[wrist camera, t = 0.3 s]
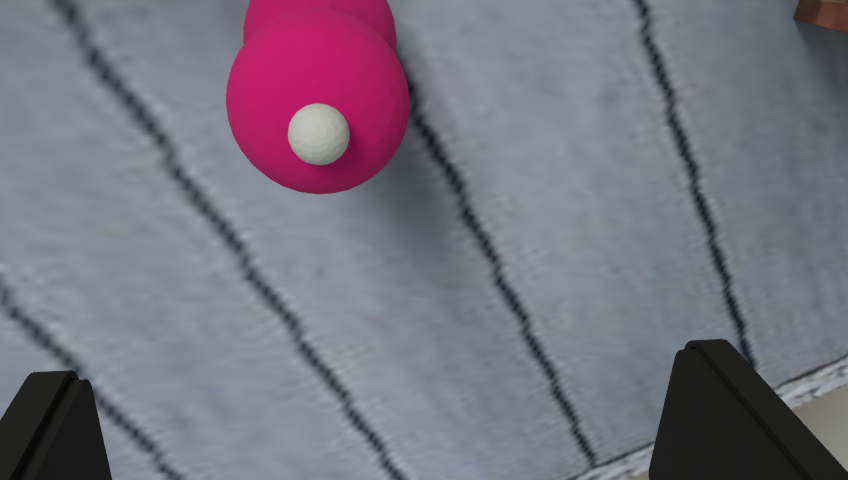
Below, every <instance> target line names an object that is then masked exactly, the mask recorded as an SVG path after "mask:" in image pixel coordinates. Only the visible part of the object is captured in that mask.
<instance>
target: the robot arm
mask: <svg viewBox="0 0 848 480" xmlns="http://www.w3.org/2000/svg"><path fill="white" fill-rule="evenodd" d="M0 480H112V477H111V472H110V468H109V463H108V459H107V454H106V449H105V445H104V440H103V436H102V431H101V427H100V422H99V418H98V413H97V408H96V404H95V399H94V395H93V390H92V386H91V383H90V382H89V380H87V379H85V380H79V378H78V375H77V374H76V372H74V371H72V370H70V371H49V372H33V373H31V374H30V375H29V376H28V377H27V378H26V380H25V381H24V383H23V385H22V386H21V388H20V389H19V391H18V393H17V394H16V396H15V398H14V399H13V401H12V402H11V404H10V406H9V407H8V409H7V410H6V412H5V414H4V415H3V417H2V419H1V420H0ZM649 480H848V472H847V471H846V470H845V469H844V468H843V466H841V464H840V463H839V462H838V461H837V460H836V459H835V458H834V457H833V456H832V454H831V453H830V452H829V451H828V450H827V449H826V448H825V447H824V446H823V445H822V443H821V442H820V441H819V440H818V439H817V438H816V437H815V436H814V435H813V434H812V433H811V431H810V430H809V429H808V428H807V427H806V426H805V425H804V424H803V423H802V422H801V420H800V419H799V418H798V417H797V416H796V415H795V414H794V413H793V412H792V410H791V409H790V408H789V407H788V406H787V405H786V404H785V403H784V402H783V401H782V399H781V398H780V397H779V396H778V395H777V394H776V393H775V392H774V391H773V390H772V389H771V387H770V386H769V385H768V384H767V383H766V382H765V381H764V380H763V379H762V378H761V376H760V375H759V374H758V373H757V372H756V371H755V370H754V369H753V368H752V367H751V365H750V364H749V363H748V362H747V361H746V360H745V359H744V358H743V357H742V356H741V354H740V353H739V352H738V351H737V350H736V349H735V348H734V347H733V346H732V345H731V344H730V343H729V342H728V341H727V340H724V339H713V340H692V341H690V342H688V343H687V344H686V346H685V348H684V350H679V351H678V352H677V353H676V356H675V360H674V364H673V368H672V372H671V377H670V381H669V385H668V390H667V394H666V398H665V403H664V407H663V411H662V416H661V420H660V424H659V428H658V433H657V437H656V441H655V446H654V450H653V454H652V459H651V463H650V467H649Z"/></svg>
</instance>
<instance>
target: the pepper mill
mask: <svg viewBox="0 0 848 480" xmlns="http://www.w3.org/2000/svg"><path fill="white" fill-rule="evenodd" d="M395 51H396V32H395V25H394V19H393V16H392V13H391V10H390V7H389V5H388V3H387V1H386V0H251V1H250V4H249V7H248V9H247V12H246V18H245V23H244V46H243V47H242V48H241V49H240V51H239V52H238V54H237V56H236V59H235V61H234V63H233V65H232V68H231V72H230V76H229V80H228V84H227V93H226V106H227V114H228V121H229V124H230V127H231V130H232V133H233V136H234V138H235V140H236V142H237V144H238V145H239V147H240V149H241V151H242V152H243V153H244V154H245V156H246V157H247V158H248V159H249V161H250V162H251V163H252V164H253V166H255V167H256V168H257V169H258V170H259V171H261V172H262V173H263V174H265V175H266V176H267V177H269V178H270V179H271V180H273V181H275V182H277V183H279V184H280V185H282V186H284V187H287V188H290V189H293V190H296V191H299V192H305V193H312V194H329V193H336V192H340V191H344V190H349V189H351V188H353V187H356V186H358V185H360V184H362V183H364V182H365V181H367V180H368V179H370V178H372V177H373V176H375V175H376V174H377V173H378V172H379V171H380V170H381V169H382V168H383V167H384V166H386V165H387V163H388V162H389V161H390V160H391V158H392V157H393V156H394V154H395V153H396V151H397V149H398V147H399V145H400V143H401V141H402V139H403V137H404V134H405V131H406V128H407V124H408V118H409V112H410V111H409V91H408V85H407V79H406V77H405V74H404V71H403V68H402V65H401V63H400V62H399V60H398V58H397V56H396V54H395Z"/></svg>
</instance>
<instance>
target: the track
mask: <svg viewBox="0 0 848 480" xmlns="http://www.w3.org/2000/svg"><path fill="white" fill-rule="evenodd" d="M794 19H796V20H800V21H804V22H808V23H811V24H815V25H819V26H823V27H826V28H830V29H834V30H837V31H841V32H845V33H848V0H800V1H799V4H798V7H797V10H796V13H795V16H794Z"/></svg>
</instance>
